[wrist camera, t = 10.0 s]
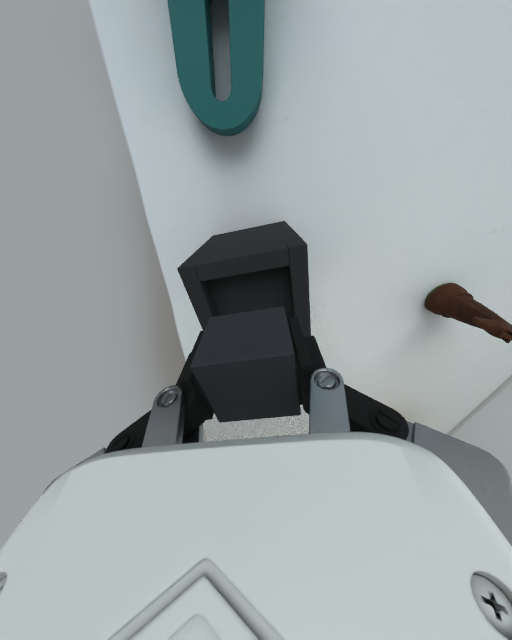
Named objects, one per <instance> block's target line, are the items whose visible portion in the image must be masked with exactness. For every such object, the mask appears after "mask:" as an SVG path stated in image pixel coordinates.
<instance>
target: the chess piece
mask: <svg viewBox="0 0 512 640" xmlns="http://www.w3.org/2000/svg"><path fill="white" fill-rule="evenodd" d="M425 306H426V308H427V309H428V310H429V311H431V312H433V313H435V314H437V315H442V316H443V317H446V318H453V319H456V320H458V321H461V322H464V323H466V324H469V325H472V326H475V327H478V328H481V329H484V330H485V331H486V332H488V333H489V334H490V335H492V336H494V337H497V338H501V339H503V340H504V341H505V342H506V343H509V342H510V340H511V341H512V325H511V324H509V323H508V322H507V321H505V320H504V319H503V318H501V317H500V316H498V315H497V314H496V313H494V312H493V311H491V310H490V309H488V308H487V307H485V306H484V305H482V304H481V303H479V302H477V301H475V300H474V299H473V296H472V295H471V294H469V293H468V292H467V291H466V290H465V289H464V288H462V287H461V286H459V285H457V284H454V283H448V284H443V285H441V286H438V287H437V288H435V289H434V290H433V291H431V292H430V293H429V295H428V296H427V298H426V300H425Z"/></svg>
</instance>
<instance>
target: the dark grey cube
mask: <svg viewBox="0 0 512 640" xmlns="http://www.w3.org/2000/svg"><path fill="white" fill-rule="evenodd" d="M190 368H191V370H192V372H193V373H194V375H195V377H196V379H197V381H198V382H199V384H200V386H201V388H202V390H203V392H204V394H205V396H206V397H207V399H208V401H209V403H210V405H211V407H212V409H213V411H214V412H215V415H216V417H217V419H218V420H219V422H230V421H241V420H251V419H262V418H273V417H284V416H295V415H300V414H301V411H300V405H299V399H298V390H297V381H296V372H295V369H296V364H295V354H294V349H293V345H292V340H291V336H290V332H289V327H288V323H287V318H286V314H285V309H284V306H280V307H273V308H267V309H261V310H254V311H248V312H241V313H235V314H229V315H222V316H216V317H210V318H209V320H208V323H207V325H206V328H205V330H204V333H203V335H202V338H201V340H200V343H199V345H198V348H197V350H196V353H195V355H194V358H193V360H192V363H191V365H190Z"/></svg>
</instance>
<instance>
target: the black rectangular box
mask: <svg viewBox="0 0 512 640" xmlns="http://www.w3.org/2000/svg"><path fill="white" fill-rule="evenodd" d="M177 269H178V272H179V274H180V276H181V279H182V281H183V284H184V286H185V288H186V291H187V293H188V296H189V298H190V300H191V303H192V305H193V307H194V310H195V312H196V315H197V317H198V319H199V322H200V324H201V327H202V329H203V331H204V330H205V328H206V325H207V323H208V320H209V318H210V317H216V316H222V315H229V314H235V313H241V312H248V311H254V310H261V309H267V308H273V307H280V306H284V309H285V314H286V318H287V320H288V318H291V317H298V320H299V323H300V327H301V330H302V333H303V336H304V337H307V336H311V328H310V303H309V278H308V253H307V244H306V243H305V242H304V241H303V239H302V238H301V237H300V236H299V235H298V234H297V233H296V232H295V231H294V230H293V229H292V228H291V227H290V226H289V225H288V224H287V223H286V222H285V221H282V222H277V223H273V224H268V225H263V226H258V227H253V228H248V229H243V230H239V231H234V232H229V233H224V234H219V235H214V236H212V237H211V238H210V239H209V240H208V241H207V242H206V243H204V244H203V245H202V246H201V247H200V248H199V249H198V250H197V251H196V252H195V253H194V254H193V255H191V256H190V257H189V258H188V259H187V260H186V261H185V262H184V263H183V264H182V265H181V266H180V267H178V268H177Z"/></svg>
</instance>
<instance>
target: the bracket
mask: <svg viewBox="0 0 512 640" xmlns="http://www.w3.org/2000/svg"><path fill="white" fill-rule="evenodd" d="M211 1H212V0H168V7H169V14H170V22H171V29H172V37H173V44H174V51H175V59H176V66H177V73H178V78H179V82H180V85H181V89H182V91H183V94H184V96H185V98H186V100H187V102H188V104H189V106H190V107H191V109H192V110H193V112H194V113H195V114H196V116H197V117H198V118H199V119H200V121H201V122H202V123H203V124H204V125H205V126H206V127H207V128H208V129H210V130H211V131H213V132H214V133H216V134H219V135H223V136H231V135H235V134H238V133H240V132H241V131H243V130H244V129H245V128H247V126H248V125H249V124H250V123H251V122H252V120H253V119H254V117H255V115H256V113H257V110H258V108H259V104H260V100H261V95H262V83H263V49H264V7H265V0H229V29H230V57H231V85H232V88H231V94H230V96H229V98H228V99H227V100H225V101H219V100H217V99H216V93H215V78H214V63H213V48H212V33H211V18H210V5H211Z"/></svg>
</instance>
